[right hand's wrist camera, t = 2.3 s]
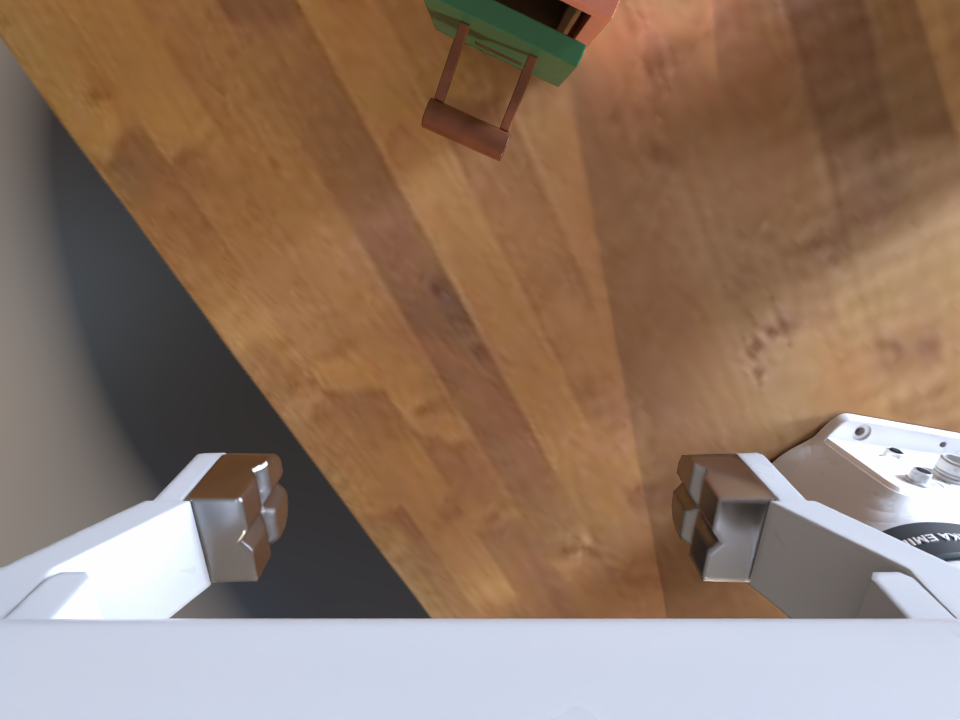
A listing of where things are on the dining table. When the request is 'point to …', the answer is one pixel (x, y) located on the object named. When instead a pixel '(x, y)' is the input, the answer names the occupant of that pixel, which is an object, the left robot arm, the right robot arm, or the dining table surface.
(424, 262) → the dining table surface
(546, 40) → the drawer
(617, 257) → the dining table surface
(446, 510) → the dining table surface
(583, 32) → the cabinet
